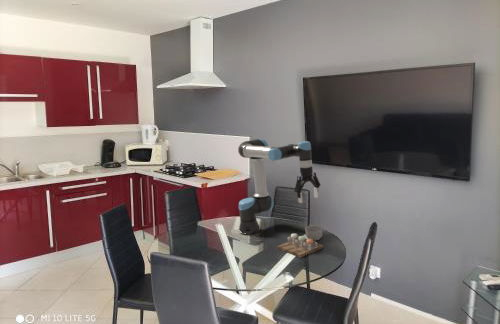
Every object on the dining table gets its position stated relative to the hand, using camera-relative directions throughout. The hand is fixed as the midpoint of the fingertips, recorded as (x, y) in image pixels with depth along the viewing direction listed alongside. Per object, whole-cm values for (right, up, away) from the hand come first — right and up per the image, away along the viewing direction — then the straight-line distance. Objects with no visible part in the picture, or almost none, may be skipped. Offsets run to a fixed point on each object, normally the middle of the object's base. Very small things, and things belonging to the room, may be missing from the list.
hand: (308, 200), depth 231 cm
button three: (0, -26, -7) cm, 27 cm away
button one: (-8, -25, +4) cm, 27 cm away
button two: (-4, -25, -2) cm, 26 cm away
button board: (-6, -29, -2) cm, 30 cm away
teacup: (+6, -26, +12) cm, 29 cm away
